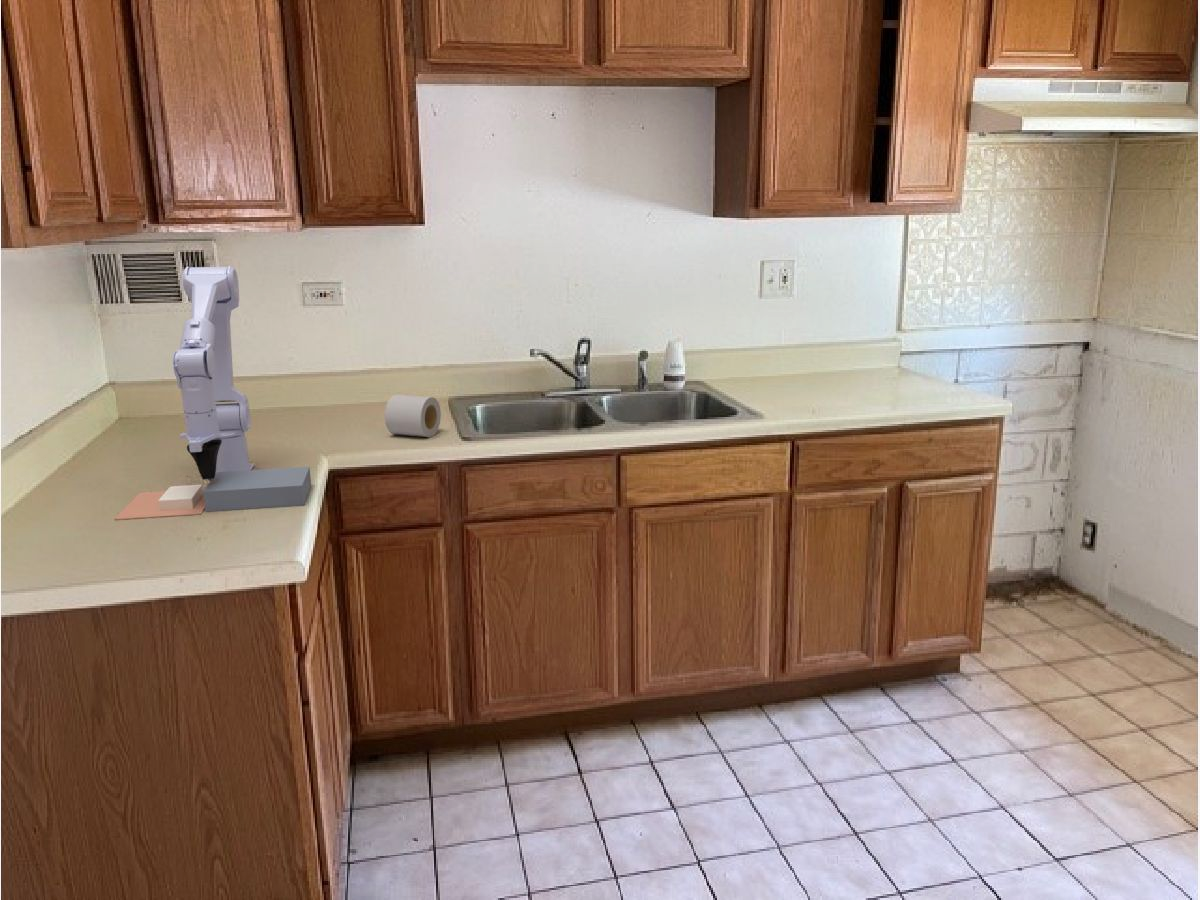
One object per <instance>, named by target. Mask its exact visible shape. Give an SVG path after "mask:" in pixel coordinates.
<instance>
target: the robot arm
mask: <svg viewBox="0 0 1200 900" xmlns="http://www.w3.org/2000/svg"><path fill="white" fill-rule="evenodd" d="M182 285H183V286H182V287H183V290H184V293H185V295H186V296H187V298H188V300H189V302H190V303H191V309H190V310H191V311H190V312H191V313H190V314H191V315H190V318H189V319H187V320H186V321H185V322H184V324H183V329H182V334H181V339H180V345H179V348H178V350H177V351H174V353H173V355H172V367H173V373H174V376H175V378H176V382H177V387H178V389H180V392H181V399H182V407H183V408H182V409H183V415H184V423H185V431H186V432H182V433H180V434H179V435H180V436H179V437H180V439H186V440H187V442H188V444H187V445H186V450H187V453H188V454H189V455H191V457H192V458H193V460H194V462H195V464H196V467H197V469H198V472H199V474H200V477H201V479H202V480H212V479H214V477H215V474H216V473H217V472H227V471H244V470H253V468H254V466H255V463H253V462H252V463H251V462H250V458H249V449H248V441H247V437H246V435H245V433H247V432H248V431H249V429H250V428H251V421H252V420H251V418H252V417H251V416H252V415H251V410H250V406H249V399H248V397H247V396H246V394H244V393H243V392H241V391H239V390H238V389H236V388H235V387H234V371H233V368H234V367H233V354H232V353H233V352H232V350H233V349H232V333H231V316H232V311H234V310H235V309H237V308H238V307H239V305H240V290H239V289H240V288H239V277H238V274H237V270H236V269H235V267H233V266H232V265H228V266H202V267H201V266H198V267H197V266H196V267H195V266H194V267H191V266H186V267H185V268H184V269H183V271H182Z"/></svg>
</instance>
